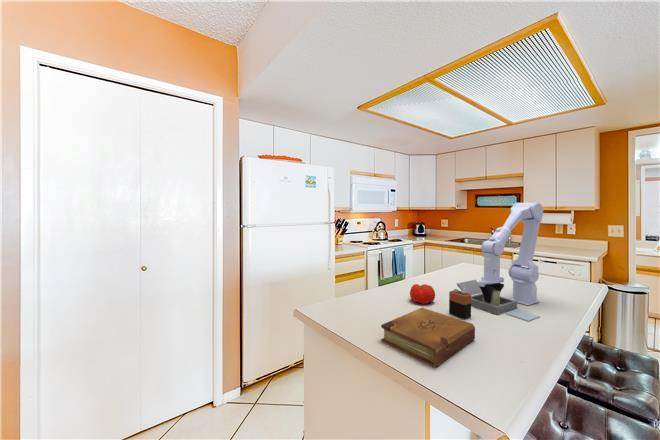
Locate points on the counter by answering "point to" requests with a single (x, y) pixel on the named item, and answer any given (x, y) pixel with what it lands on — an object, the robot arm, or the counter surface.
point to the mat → (522, 315)
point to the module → (494, 298)
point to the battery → (460, 304)
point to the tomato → (422, 293)
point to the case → (477, 299)
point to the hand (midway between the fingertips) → (491, 300)
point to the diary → (428, 335)
